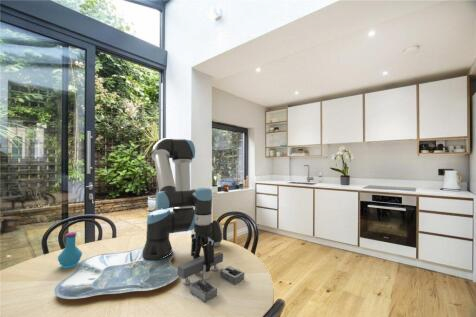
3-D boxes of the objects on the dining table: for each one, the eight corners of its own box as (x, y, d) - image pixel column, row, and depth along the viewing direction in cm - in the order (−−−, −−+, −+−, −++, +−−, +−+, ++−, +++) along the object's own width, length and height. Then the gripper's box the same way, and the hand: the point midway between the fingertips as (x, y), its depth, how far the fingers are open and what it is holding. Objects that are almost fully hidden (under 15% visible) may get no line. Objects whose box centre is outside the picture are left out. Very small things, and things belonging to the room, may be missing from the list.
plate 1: (189, 292, 85) (190, 284, 85) (201, 286, 89) (202, 279, 89) (204, 303, 79) (205, 294, 79) (217, 295, 83) (217, 287, 83)
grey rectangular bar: (177, 284, 90) (177, 264, 91) (216, 266, 107) (216, 249, 107) (183, 288, 87) (183, 268, 88) (222, 269, 104) (223, 252, 104)
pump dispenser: (215, 240, 141) (215, 217, 141) (225, 245, 133) (226, 220, 133) (201, 244, 134) (202, 219, 134) (211, 250, 126) (212, 223, 126)
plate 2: (219, 277, 97) (219, 270, 97) (229, 272, 101) (229, 265, 101) (234, 285, 91) (234, 277, 91) (244, 279, 95) (244, 272, 95)
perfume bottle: (83, 265, 105) (84, 233, 105) (59, 271, 98) (60, 238, 98) (79, 258, 111) (80, 229, 111) (55, 264, 104) (57, 233, 105)
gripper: (183, 220, 101) (182, 271, 100) (210, 229, 89) (208, 287, 88) (196, 217, 106) (195, 266, 106) (223, 225, 94) (222, 280, 94)
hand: (201, 275), depth 97 cm, fingers open, 5 cm apart
